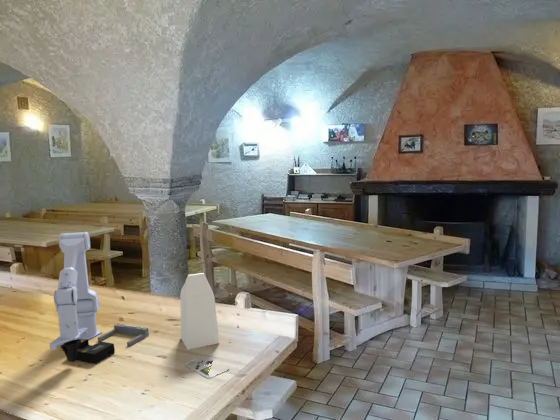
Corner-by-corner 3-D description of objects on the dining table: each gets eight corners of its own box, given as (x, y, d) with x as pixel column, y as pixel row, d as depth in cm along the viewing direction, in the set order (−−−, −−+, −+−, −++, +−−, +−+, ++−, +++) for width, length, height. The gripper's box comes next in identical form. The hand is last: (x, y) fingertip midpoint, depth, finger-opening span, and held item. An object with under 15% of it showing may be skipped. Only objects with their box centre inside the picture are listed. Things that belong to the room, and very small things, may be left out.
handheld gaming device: (204, 354, 164) (230, 368, 153) (205, 356, 164) (230, 370, 153) (183, 363, 158) (208, 378, 147) (183, 365, 158) (208, 380, 147)
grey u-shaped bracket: (97, 341, 180) (97, 332, 179) (117, 330, 190) (117, 322, 190) (129, 346, 174) (129, 337, 174) (148, 335, 184) (148, 327, 184)
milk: (187, 349, 170) (183, 280, 166) (180, 338, 180) (177, 272, 177) (219, 343, 174) (216, 275, 171) (211, 332, 185) (207, 268, 182)
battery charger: (115, 353, 169) (114, 343, 168) (95, 365, 160) (94, 354, 159) (87, 349, 174) (86, 338, 173) (67, 360, 165) (66, 349, 164)
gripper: (59, 332, 149) (63, 372, 150) (93, 316, 162) (96, 354, 164) (43, 329, 151) (47, 369, 153) (78, 314, 165) (81, 351, 166)
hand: (71, 361), depth 159 cm, fingers closed
